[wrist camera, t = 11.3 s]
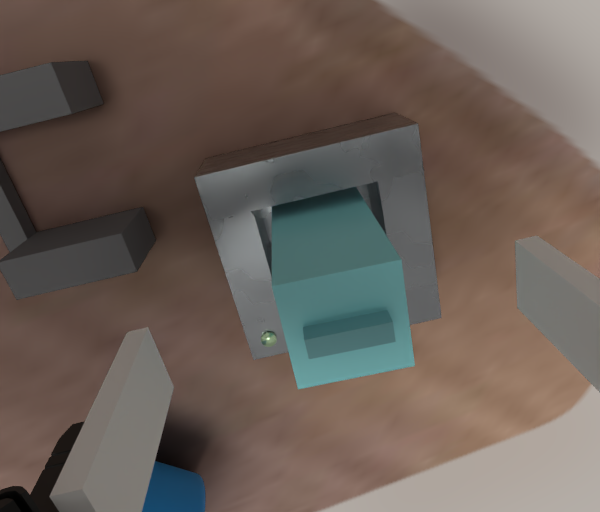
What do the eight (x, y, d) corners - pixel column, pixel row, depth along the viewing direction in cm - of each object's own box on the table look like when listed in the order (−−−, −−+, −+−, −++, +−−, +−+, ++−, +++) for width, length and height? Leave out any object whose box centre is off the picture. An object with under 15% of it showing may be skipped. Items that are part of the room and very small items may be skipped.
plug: (271, 200, 25) (271, 297, 15) (353, 182, 25) (407, 269, 15) (288, 273, 27) (299, 404, 17) (365, 257, 26) (421, 379, 17)
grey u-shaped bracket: (-57, 97, 22) (-121, 105, 19) (87, 60, 22) (50, 62, 18) (31, 269, 26) (-8, 305, 23) (155, 240, 26) (136, 271, 22)
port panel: (205, 158, 24) (193, 178, 20) (395, 112, 24) (419, 124, 20) (255, 319, 28) (253, 362, 24) (419, 282, 28) (442, 319, 24)
